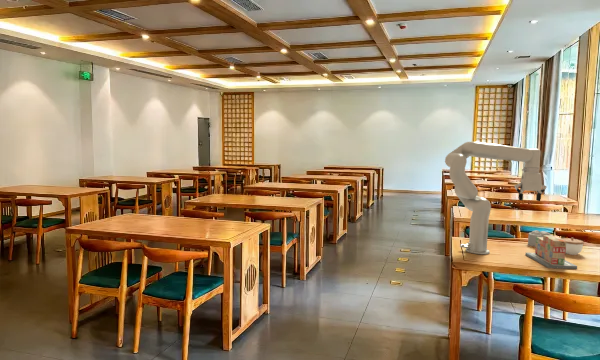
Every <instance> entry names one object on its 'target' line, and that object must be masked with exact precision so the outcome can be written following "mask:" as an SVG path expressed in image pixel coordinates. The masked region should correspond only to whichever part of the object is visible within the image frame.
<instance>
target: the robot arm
mask: <svg viewBox="0 0 600 360" xmlns="http://www.w3.org/2000/svg"><path fill="white" fill-rule="evenodd" d="M541 154H542V151H541V150H540V149H539V148H526V147H516V146H510V145H503V144H498V143H489V142H481V141H466V142H464V143H462V144H461V145H459V146H458V147H457V148H455V149H453V150H452V151H450V152H449V153H448V154H447V155H446V156H445V159H444V162H445V165H446V166H447V167H449V178H450V180H451V182H452V184H453V185H454V193H455V195H456V196H457V198H458V199H459V201H460V202H461V203H462V204H463V205H464V206H465V208H466V209H467V210H469V211H471V215H470V220H469V221H470V223H469V239H468V241H469V242H467V243H460V244H459V246H460V248H464V249H465V251H466V252H467V253H470V254H473V255H474V254H476V255H489V254H490V250H489V249H488V238H489V237H488V235H489V233H488V232H489V221H490V213H491V210H492V204H491V202H490V201H489V199H487V198H485V197H482V196H479V195H478V193H479V190H478V188H477V187H476V185H475V184H474V182H472V180H471V179H470V178H469V176H468V175H467V173H466V165H467V163H468V161H467V160H468V158H469V157H473V158H481V159H482V158H483V159H488V160H489V159H490V160H497V161H498V160H500V161H501V160H505V161H514V162H520V163H521V162H522V163H524V166H523V167H522V168H521V171H522V172H523V173H522V175H521V178H520V182H519V183H517V184H515V185H514V189H515V191H516V192H517V193H518V200H519V201H523V200H524V192H525V191H527V192H529V191H530V192H536V198H535V200H536V201H538V202H541V200H542V199H541V198H542V194H543V193H544V192H545V191H546V190H547V186H546V185H544V184H542V183H543V182H542V181H543V179H542V174H541V173H540V164H541Z"/></svg>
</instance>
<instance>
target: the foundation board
mask: <svg viewBox="0 0 600 360" xmlns="http://www.w3.org/2000/svg"><path fill="white" fill-rule="evenodd" d="M524 254H525V255H524V256H526V257H528V258H530V259H531V260H533V261H535V262H537V263H539V264H540V265H542V266H544V267H545V268H548V269H565V270H566V269H567V270H578V265H576V264H574V263H572V262H570V261H567V260H566V259H565V262H564V265H561V264H551V263H549V262H548V261H547V260H545V259H544V258H542V257H541V256H539V255H538V254H537V253H535V252H525V253H524Z"/></svg>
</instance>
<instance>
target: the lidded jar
mask: <svg viewBox="0 0 600 360" xmlns="http://www.w3.org/2000/svg"><path fill="white" fill-rule="evenodd" d="M562 239H563V240H564V241H566V242H567V243H566V252H565V255H570V256H577V255H578V254H580V253H581V252H582V250H583V246H584V241H583V240H581V239H577V238H574V237H571V238H568V237H567V238H564V237H563V238H562Z"/></svg>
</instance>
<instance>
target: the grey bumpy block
mask: <svg viewBox="0 0 600 360" xmlns="http://www.w3.org/2000/svg"><path fill="white" fill-rule="evenodd" d="M544 235H548V236H554V235H553V234H551V233H549V232H547V231H545V230H544V231H543V230H542V231H540V230H536V229H535V230H532V231H531V232H528V237H527V245H528V246H530V247H535V248H536V237H543V236H544Z"/></svg>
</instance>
